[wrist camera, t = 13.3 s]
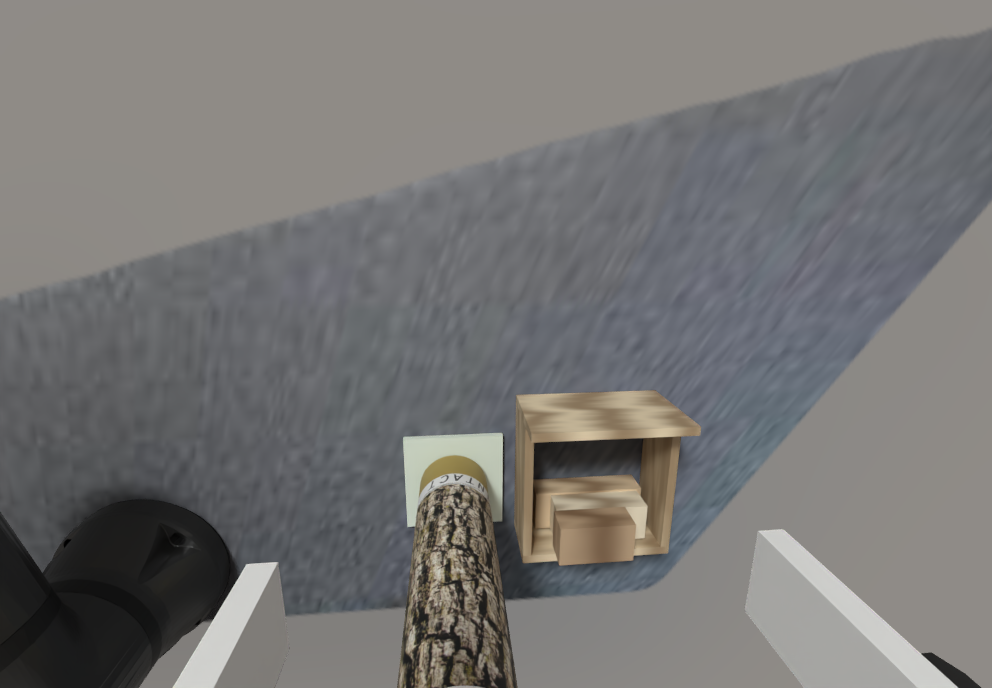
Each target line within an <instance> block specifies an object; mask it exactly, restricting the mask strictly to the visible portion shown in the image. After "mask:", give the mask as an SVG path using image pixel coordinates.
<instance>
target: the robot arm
mask: <svg viewBox="0 0 992 688" xmlns="http://www.w3.org/2000/svg"><path fill="white" fill-rule="evenodd" d="M229 571H230V566H229V558H228V554H227V551H226V549H225V546H224V544H223V542H222V541H221V539H220V537H219V536H218V535H217V533H216V532H215V531H214V530H213V529H212V528H211V527H210V526H209V525H208V524H207V523H206V522H205V521H204V520H202V519H201V518H200V517H198V516H197V515H195V514H193V513H192V512H190V511H188V510H186V509H184V508H181V507H179V506H176V505H173V504H170V503H166V502H161V501H154V500H130V501H124V502H119V503H115V504H112V505H109V506H107V507H105V508H102V509H101V510H99V511H97V512H95V513H94V514H92V515H91V516H90V517H89V518H87V519H86V520H85V521H84V522H82V523H81V524H80V525H79V526H77V527H76V528H75V529H74V530H73V531H72V532H70V534H69V535H68V536H67V537H66V538H65V539H64V540H63V541H62V543H61V544H60V546H59V547H58V549H57V551H56V552H55V554H54V557H53V559H52V561H51V562H50V563H49V564H48V566H47V567H46V569H45V570H44V572H43V573H42V572H41V570H40V569H39V567H38V566H37V565H36V563H35V562H34V560H33V559H32V557H31V556H30V554H29V553H28V551H27V550H26V549H25V547H24V546H23V544H22V543H21V541H20V540H19V538H18V537H17V535H16V534H15V533H14V531H13V530H12V528H11V527H10V525H9V524H8V522H7V521H6V519H5V518H4V516H3V515H2V514H1V512H0V688H139V687H140V685H141V684H142V682H143V681H144V679H145V678H146V676H147V675H148V673H149V672H150V670H151V669H152V667H153V666H154V664H155V663H156V661H157V660H158V659H159V658H160V657H161V656H162V655H164V654H165V653H166V652H167V651H168V650H170V648H172V647H173V646H174V645H175V644H176V643H177V642H178V641H179V640H180V638H181V637H182V636H184V635H186V634H187V633H189V632H190V631H192V630H193V629H195V628H196V627H197V626H198V625H199V624H201V623H202V622H203V621H204V620H205V619H206V617H207V616H208V615H209V614H210V613H211V611H212V610H213V608H214V607H215V605H216V604H217V602H218V600H219V599H220V597H221V596H222V594H223V592H224V590H225V588H226V586H227V583H228V579H229ZM745 612H746V613H747V614H748V615H749V617H750V618H751V619H752V621H753V622H754V623H755V625H756V626H757V627H758V629H759V630H760V631H761V632H762V634H763V635H764V636H765V638H766V639H767V640H768V642H769V643H770V644H771V645H772V647H773V648H774V649H775V651H776V652H777V653H778V654H779V656H780V657H781V658H782V660H783V661H784V662H785V664H786V665H787V666H788V668H789V669H790V670H791V671H792V673H793V674H794V675H795V677H796V678H797V679H798V680H799V682H800V683H801V684H802V686H803V687H804V688H981V687H980V686H979V685H978V684H976V683H975V682H974V681H973V680H972V679H970V678H969V677H968V676H967V675H966V674H965V673H963V672H961V671H960V670H958V669H957V668H955V667H954V666H952V665H950V664H949V663H947V662H945V661H944V660H942V659H941V658H939V657H938V656H936V655H934V654H933V653H922V654H921V653H919V652H918V651H917V650H916V649H915V648H914V647H913V646H911V645H910V644H909V643H908V642H907V641H906V640H905V639H904V638H903V637H902V636H901V635H899V634H898V633H897V632H896V631H895V630H894V629H893V628H892V627H890V625H888V624H887V623H886V622H885V621H884V620H883V619H882V618H881V617H880V616H879V615H877V614H876V613H875V612H874V611H873V610H872V609H871V608H869V606H867V605H866V604H865V603H864V602H863V601H862V600H861V599H860V598H859V597H858V596H856V595H855V594H854V593H853V592H852V591H851V590H850V589H849V588H848V587H846V586H845V585H844V584H843V583H842V582H841V581H840V580H839V579H838V578H836V577H835V576H834V575H833V574H832V573H831V572H830V571H829V570H828V569H827V568H825V567H824V566H823V565H822V564H821V563H820V562H819V561H818V560H817V559H816V558H814V557H813V556H812V555H811V554H810V553H809V552H808V551H807V550H806V549H804V548H803V547H802V546H801V545H800V544H799V543H798V542H797V541H796V540H795V539H793V538H792V537H791V536H790V535H789V534H788V533H787V532H786V531H785V530H783V529H782V530H766V531H758V535H757V541H756V547H755V553H754V559H753V565H752V571H751V577H750V583H749V589H748V596H747V601H746V607H745ZM289 649H290V647H289V640H288V632H287V625H286V618H285V610H284V603H283V596H282V588H281V581H280V574H279V566H278V562H273V563H258V564H247V565H246V566H245V568H244V570H243V571H242V573H241V575H240V576H239V578H238V580H237V581H236V583H235V585H234V586H233V588H232V590H231V591H230V593H229V595H228V596H227V598H226V599H225V601H224V603H223V604H222V606H221V608H220V609H219V611H218V613H217V614H216V616H215V618H214V619H213V621H212V623H211V624H210V626H209V628H208V629H207V631H206V633H205V635H204V636H203V638H202V639H201V641H200V643H199V644H198V646H197V648H196V649H195V651H194V653H193V655H192V656H191V658H190V659H189V661H188V663H187V664H186V666H185V668H184V670H183V671H182V673H181V674H180V676H179V678H178V680H177V681H176V683H175V684H174V686H173V688H275V686H276V683H277V680H278V678H279V675H280V672H281V670H282V667H283V665H284V662H285V659H286V657H287V654H288V651H289Z"/></svg>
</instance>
